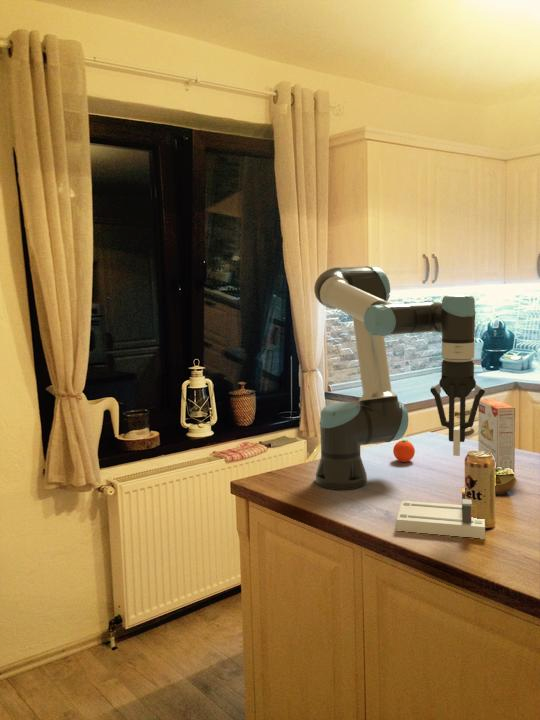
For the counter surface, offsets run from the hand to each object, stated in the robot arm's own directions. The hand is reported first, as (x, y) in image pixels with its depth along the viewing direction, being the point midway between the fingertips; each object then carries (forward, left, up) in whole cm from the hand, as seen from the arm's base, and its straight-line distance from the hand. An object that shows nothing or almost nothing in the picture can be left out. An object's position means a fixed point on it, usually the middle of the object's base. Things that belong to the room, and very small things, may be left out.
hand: (456, 454), depth 155 cm
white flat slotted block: (-3, -5, -17) cm, 18 cm away
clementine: (-17, +47, -17) cm, 52 cm away
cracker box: (+11, +44, -17) cm, 48 cm away
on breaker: (+3, -9, -13) cm, 16 cm away
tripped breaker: (+2, -1, -13) cm, 13 cm away
